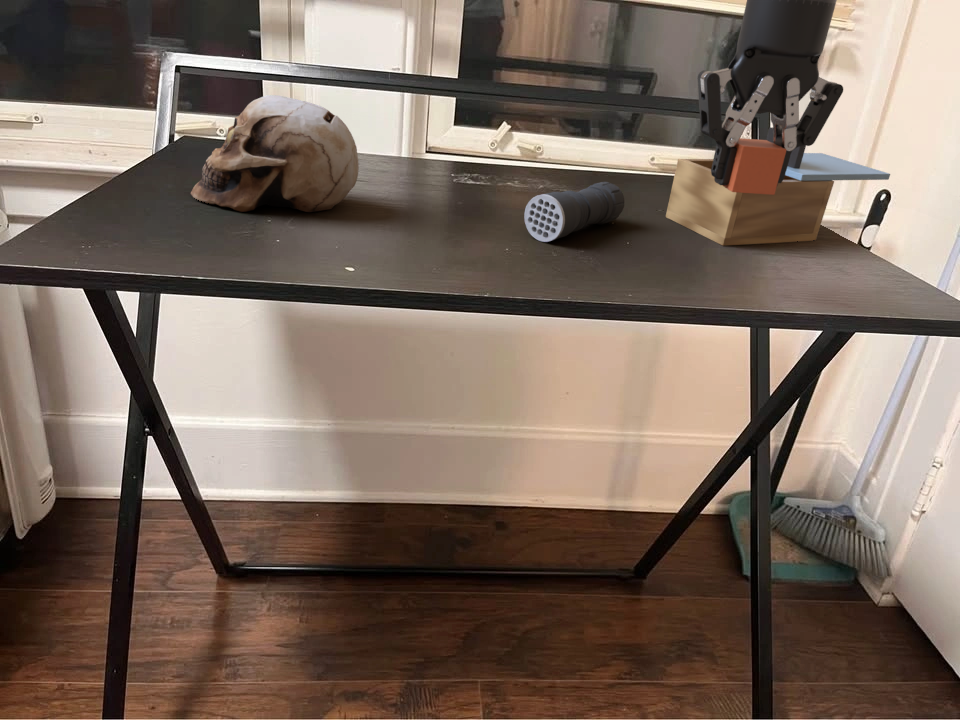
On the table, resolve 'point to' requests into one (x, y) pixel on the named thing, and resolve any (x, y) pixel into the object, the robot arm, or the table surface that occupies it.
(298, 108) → the beige skull model
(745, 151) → the block
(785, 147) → the robot arm
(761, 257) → the table surface
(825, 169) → the sliding lid
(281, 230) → the table surface
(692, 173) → the oak box
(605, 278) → the table surface
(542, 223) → the flashlight
